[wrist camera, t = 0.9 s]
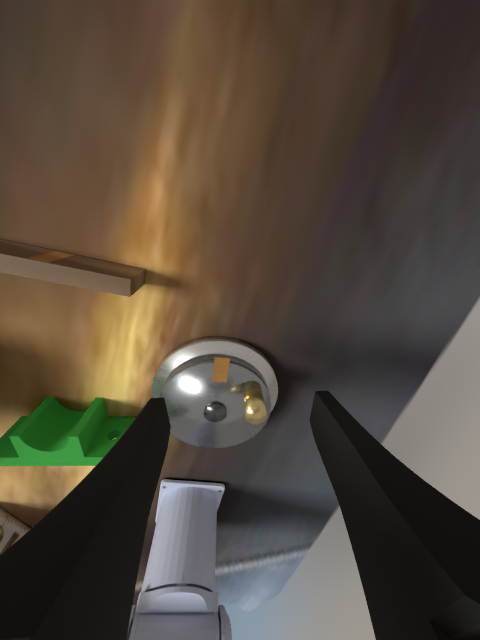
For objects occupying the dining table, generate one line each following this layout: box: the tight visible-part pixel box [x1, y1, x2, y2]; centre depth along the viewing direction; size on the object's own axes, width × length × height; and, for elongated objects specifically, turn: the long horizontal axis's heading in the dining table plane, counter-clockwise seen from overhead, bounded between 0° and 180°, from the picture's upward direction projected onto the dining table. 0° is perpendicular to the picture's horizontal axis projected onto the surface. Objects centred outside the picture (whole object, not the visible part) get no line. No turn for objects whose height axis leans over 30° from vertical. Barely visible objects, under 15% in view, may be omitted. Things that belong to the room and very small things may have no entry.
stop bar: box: [0, 239, 145, 297], centre depth 16 cm, size 1×11×3 cm, turn 77°
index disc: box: [159, 354, 271, 448], centre depth 20 cm, size 10×10×4 cm
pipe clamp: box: [0, 397, 136, 466], centre depth 21 cm, size 11×4×5 cm, turn 85°
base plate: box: [152, 336, 278, 413], centre depth 22 cm, size 12×12×1 cm
